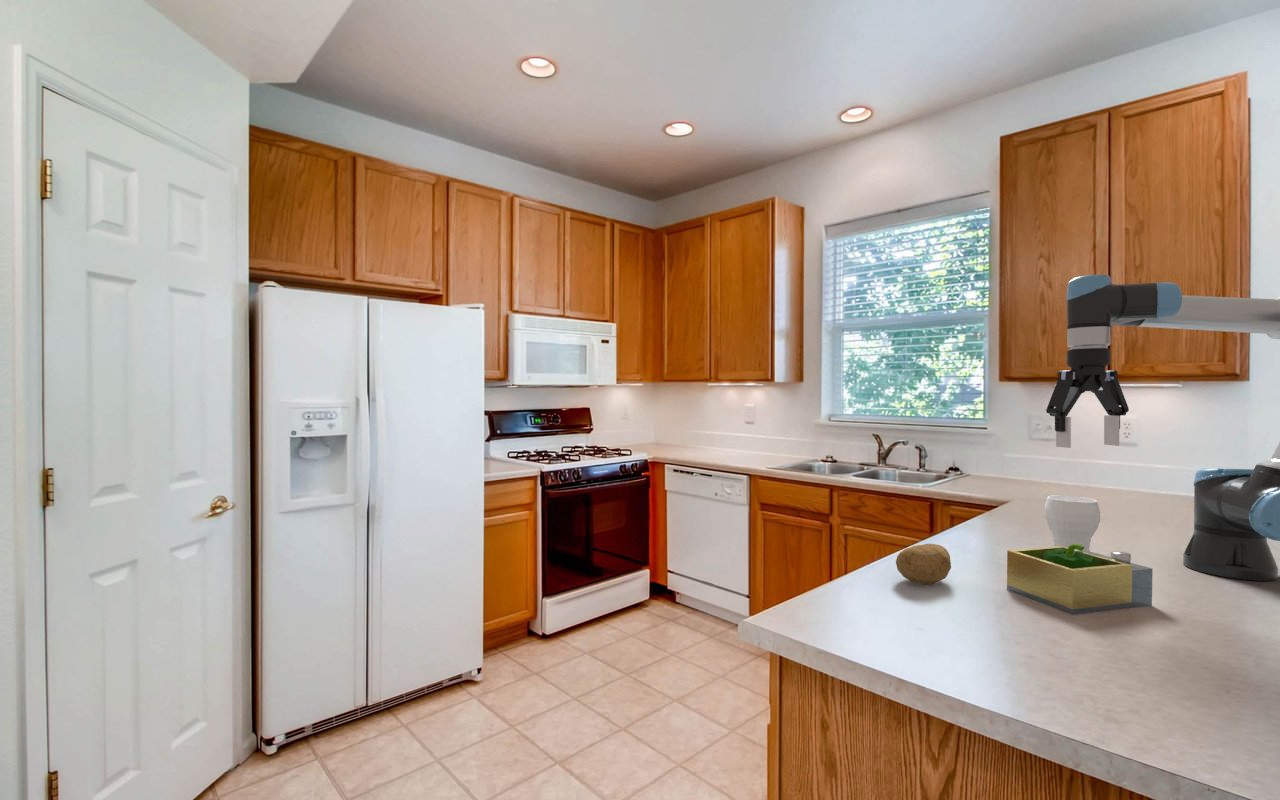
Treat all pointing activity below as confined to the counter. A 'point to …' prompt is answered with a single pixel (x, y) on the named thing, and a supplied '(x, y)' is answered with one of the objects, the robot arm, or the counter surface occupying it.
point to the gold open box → (1080, 581)
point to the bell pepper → (1070, 557)
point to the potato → (924, 563)
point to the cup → (1072, 519)
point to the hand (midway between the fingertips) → (1087, 446)
